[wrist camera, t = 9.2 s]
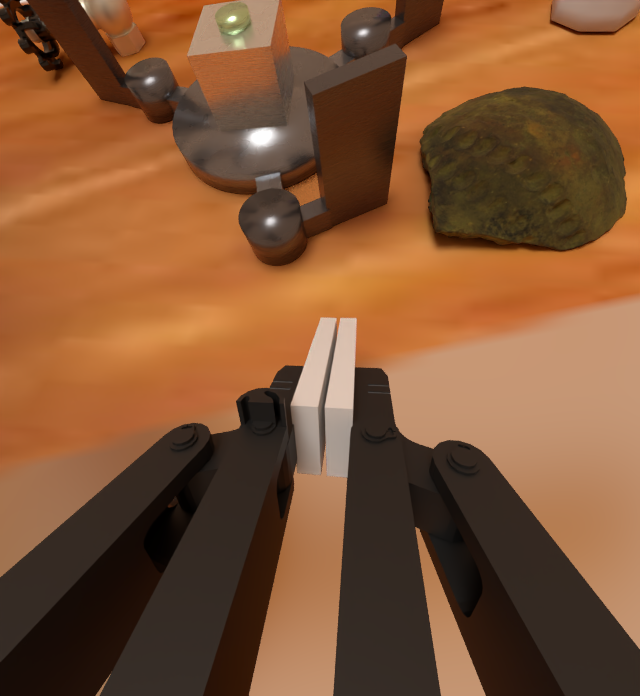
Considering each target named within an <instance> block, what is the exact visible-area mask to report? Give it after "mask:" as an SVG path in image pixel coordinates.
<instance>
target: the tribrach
mask: <svg viewBox="0 0 640 696" xmlns="http://www.w3.org/2000/svg"><path fill="white" fill-rule="evenodd" d="M27 1H28V3H29V4H30V5H31V7H32V8H33V9H34V11H35V12H36V13H37V15H38V16H39V17H40V19H41V20H42V21H43V23H44V24H45V25H46V27H47V28H48V29H49V31H50V32H51V33H52V35H53V36H54V37H55V39H56V40H57V41H58V43H59V44H60V45H61V47H62V48H63V49H64V51H65V52H66V53H67V55H68V56H69V57H70V59H71V60H72V61H73V63H74V64H75V65H76V67H77V68H78V69H79V71H80V72H81V73H82V75H83V76H84V77H85V79H86V80H87V81H88V83H89V84H90V85H91V87H92V88H93V89H94V91H95V92H96V93H97V95H98V96H99V97H100V99H102V100H107V101H111V102H116V103H121V104H126V105H131V106H133V107H137V108H142V110H143V111H144V113H145V114H146V116H147V117H148V119H149V120H150V121H152V122H154V123H165V122H169V121H171V120H173V126H172V128H173V136H174V139H175V142H176V144H177V146H178V147H179V149H180V151H181V153H182V154H183V156H184V157H185V159H186V161H187V162H188V164H189V166H190V167H191V169H192V171H193V172H194V173H195V174H196V175H197V176H198V177H199V178H200V179H201V180H202V181H204V182H205V183H207V184H208V185H210V186H212V187H214V188H217V189H219V190H222V191H226V192H230V193H238V194H255V193H257V192H259V191H262V190H265V189H271V188H279V189H284V188H286V187H289V186H292V185H294V184H296V183H299V182H301V181H303V180H304V179H306V178H308V177H310V176H311V175H313V174H314V173H316V172H317V170H316V163H315V156H314V149H313V142H312V135H311V128H310V121H309V114H308V108H307V101H306V94H305V87H304V81H307V80H309V79H311V78H314V77H316V76H319V75H321V74H323V73H326V72H328V71H331V70H333V69H335V68H338V67H340V66H343V65H345V64H348V63H350V62H352V61H355V60H357V59H360V58H362V57H364V56H367V55H369V54H372V53H374V52H376V51H379V50H381V49H384V48H386V47H388V46H391V45H393V44H396V45H397V46H398V47H399V48H400V49H401V48H402V47H403V46H404V45H405V44H407V43H408V42H410V41H412V40H413V39H415V38H416V37H418V36H420V35H421V34H423V33H424V32H426V31H427V30H429V29H431V28H432V27H434V26H435V25H437V24H438V23H439V21H440V16H441V11H442V6H443V1H444V0H397V1H396V11H395V17H393V18H392V19H391V16H390V14H389V13H388V12H387V11H386V10H384V9H381V8H375V7H369V8H362V9H359V10H356V11H354V12H352V13H350V14H349V15H347V16H346V17H345V18H344V19H343V21H342V23H341V39H342V50H340V51H338V52H337V53H335V54H334V55H332V56H330V57H329V58H328V57H326V56H325V55H323V54H320V53H318V52H316V51H313V50H310V49H305V48H300V47H291V46H289V42H288V36H287V30H286V24H285V18H284V12H283V6H282V0H240V1H233V2H226V3H219V4H212V5H205V6H204V7H203V10H202V13H201V16H200V19H199V22H198V25H197V28H196V31H195V34H194V37H193V40H192V43H191V46H190V49H189V52H188V55H187V57H188V59H189V62H190V64H191V66H192V69H193V71H194V73H195V75H196V78H197V80H196V81H195V82H194V83H193V84H192V85H191V86H190V87H189V88H185V87H179V85H178V83H177V81H176V79H175V77H174V75H173V73H172V71H171V69H170V67H169V65H168V63H167V62H166V61H165V60H164V59H161V58H149V59H145V60H142V61H140V62H138V63H137V64H135V65H134V66H132V67H131V68H130V69H129V70H128V72H127V73H126V75H125V73H124V71H123V70H122V68H121V67H120V65H119V63H118V62H117V60H116V59H115V57H114V56H113V54H112V52H111V51H110V49H109V48H108V46H107V45H106V43H105V41H104V40H103V38H102V37H101V35H100V33H99V32H98V30H97V29H96V27H95V26H94V24H93V22H92V21H91V19H90V18H89V16H88V14H87V13H86V11H85V10H84V8H83V7H82V5H81V3H80V2H79V0H27ZM284 190H285V189H284Z"/></svg>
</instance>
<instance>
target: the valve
mask: <svg viewBox="0 0 640 696" xmlns="http://www.w3.org/2000/svg"><path fill="white" fill-rule="evenodd" d="M79 2H80V3H81V5H82V7H83V8H84V10H85V11H86V13H87V14H88V16H89V18H90V19H91V21H92V22H93V24H94V26H95V27H96V29H97V30H99V29H102V30H103V31H104V32H106V35H107V37H108V38H109V40H110V41H111V43H112V45H113V46H114V48H115V50H116V51H117V52H118V53H119V54H120V55H122V56H128V55H131V54H135V53H137V52H139V51H140V49H141V48H142V47H143V45H144V44H145V40H144V38H143V36H142V35H141V33H140V31H139V29H138V27H137V25H136V24H135V23H134V22H133V20H132V14H131V11H130V8H129V5H128V3H127V1H126V0H79ZM0 3H1V4H3V6H4V8H1V9H0V18H1V19H2V20H3V22H4V23H6V24H7V25H9V26H12V27H13V28H14V29H15V31H16V32H17V34H18V35H19V37H20V39H18V43H19V45H20V47H21V48H22V50H23V51H24V52H25V53H27V54H31V53H34V54H35V55H36V56H37V57H38V61H39V63H40V65H41V66H42V68H43V69H44V70H46V71H51V70H58V69H61V68H63V63H62V61H61V60H60V59H57V60H56V59H55V57H57V56H58V55H59V52H60V49H59V45H58V43H57V42H56V39H55V37H54V36H53V35H52V33H51V32H50V31H49V29H48V28H47V27H46V25H45V24H44V23H43V21H42V20H41V19H40V17H39V16H38V15H37V13H36V12H35V11H34V9H33V8H32V7H31V5H23V6H22V5H21V4H20V0H0ZM16 11H18V12H19V13H20V14H21V15H23V16H24V17H25V20H22V21H21V22H20V23H19V21H18V18H17V16H16ZM31 40H32V41H33V42H35V43H40V42H42V44H43V47H44V52H43V51H42V50H40V49H39V48H38V47H37V46H36V45H35V44H34V43H33V42H32V41H31Z"/></svg>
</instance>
